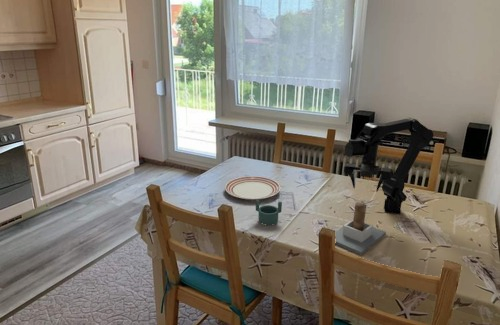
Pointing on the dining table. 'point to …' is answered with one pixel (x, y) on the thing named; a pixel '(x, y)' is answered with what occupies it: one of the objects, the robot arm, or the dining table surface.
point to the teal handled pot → (268, 213)
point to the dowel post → (359, 216)
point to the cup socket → (358, 237)
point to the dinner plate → (252, 187)
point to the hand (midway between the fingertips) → (365, 189)
